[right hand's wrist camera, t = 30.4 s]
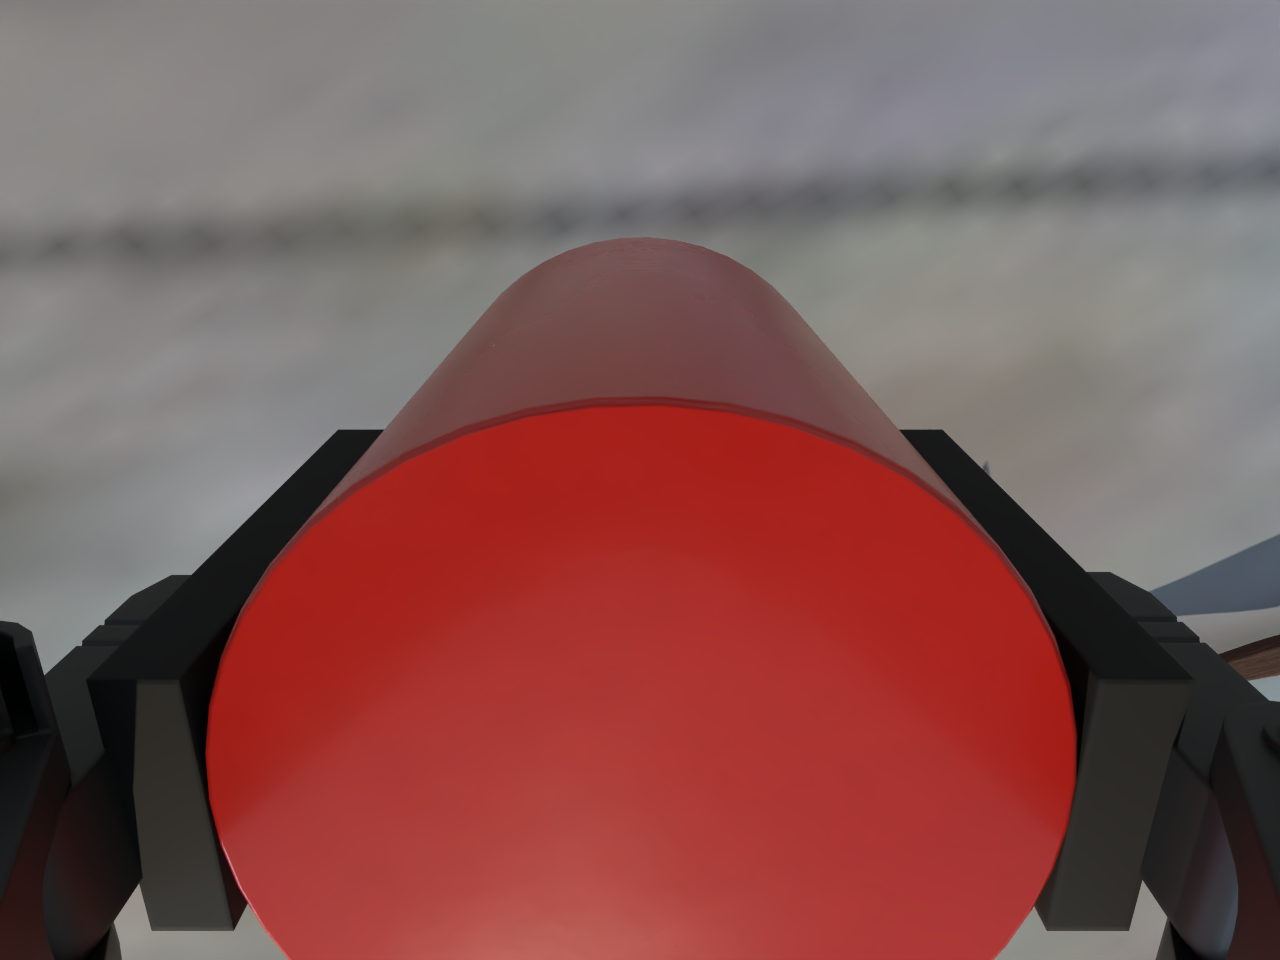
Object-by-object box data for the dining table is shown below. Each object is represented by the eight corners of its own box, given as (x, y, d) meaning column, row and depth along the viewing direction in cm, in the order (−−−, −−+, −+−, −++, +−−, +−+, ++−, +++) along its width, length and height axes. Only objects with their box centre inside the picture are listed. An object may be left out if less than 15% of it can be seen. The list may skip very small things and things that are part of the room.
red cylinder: (395, 289, 16) (44, 516, 7) (801, 193, 16) (1054, 293, 6) (508, 635, 19) (371, 1156, 9) (858, 565, 18) (1099, 1043, 9)
